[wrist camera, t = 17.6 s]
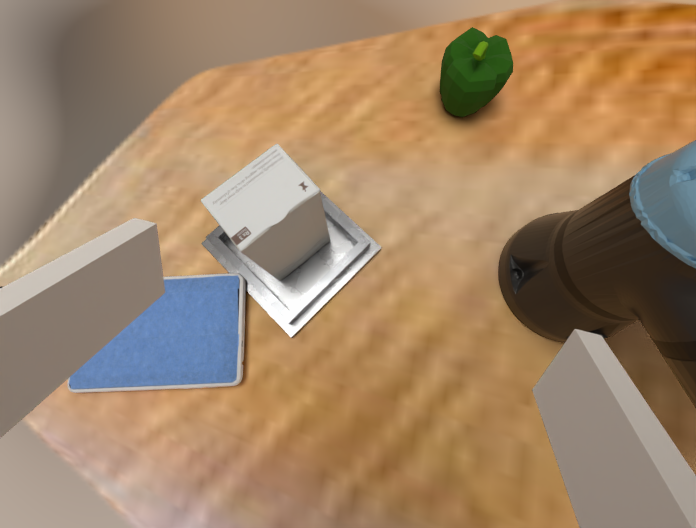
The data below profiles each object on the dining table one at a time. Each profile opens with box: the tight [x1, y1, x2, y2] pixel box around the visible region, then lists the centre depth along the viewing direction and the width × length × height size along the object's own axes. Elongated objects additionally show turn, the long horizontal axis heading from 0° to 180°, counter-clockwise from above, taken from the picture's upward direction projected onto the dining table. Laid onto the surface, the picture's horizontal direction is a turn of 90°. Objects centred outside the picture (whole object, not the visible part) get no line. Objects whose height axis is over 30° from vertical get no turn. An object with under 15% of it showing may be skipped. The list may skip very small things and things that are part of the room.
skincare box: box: [201, 144, 330, 281], centre depth 35 cm, size 8×6×15 cm
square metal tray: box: [201, 191, 382, 338], centre depth 41 cm, size 15×16×3 cm
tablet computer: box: [68, 273, 246, 393], centre depth 39 cm, size 19×13×1 cm, turn 93°
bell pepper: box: [440, 27, 513, 117], centre depth 43 cm, size 8×8×10 cm
